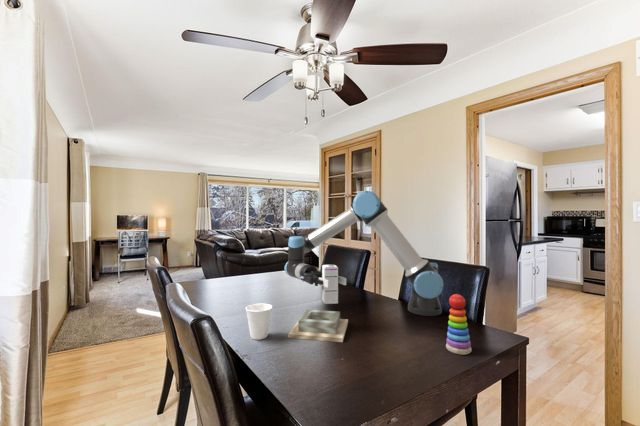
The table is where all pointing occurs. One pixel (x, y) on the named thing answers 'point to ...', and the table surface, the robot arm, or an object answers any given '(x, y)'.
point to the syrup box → (330, 293)
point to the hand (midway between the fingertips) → (337, 282)
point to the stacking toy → (458, 327)
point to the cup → (259, 320)
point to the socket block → (320, 326)
